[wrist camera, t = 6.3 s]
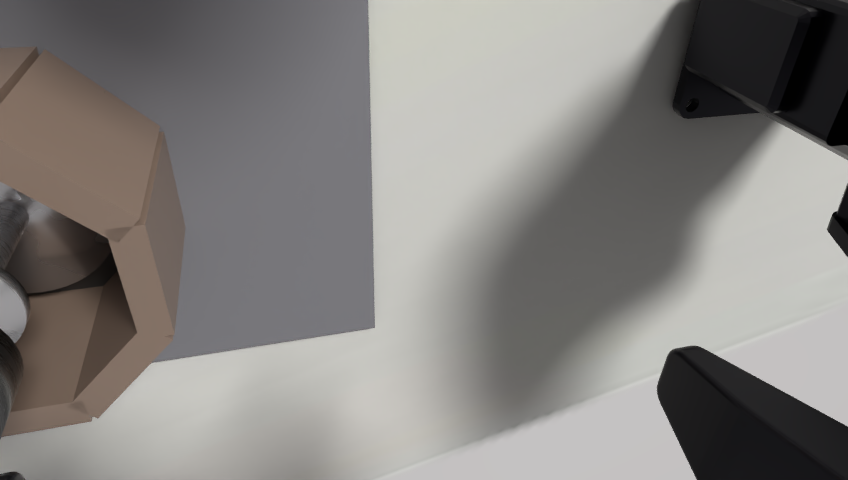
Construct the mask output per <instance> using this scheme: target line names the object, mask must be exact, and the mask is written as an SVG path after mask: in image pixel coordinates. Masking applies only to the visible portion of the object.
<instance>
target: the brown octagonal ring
mask: <svg viewBox="0 0 848 480" xmlns="http://www.w3.org/2000/svg"><path fill="white" fill-rule="evenodd" d="M159 129H160V126H159V125H158V124H156V123H155V122H153V121H152V120H150V119H149V118H147V117H146V116H144V115H143V114H141V113H140V112H138V111H137V110H135V109H134V108H132V107H131V106H129V105H128V104H126V103H125V102H123V101H122V100H120V99H119V98H117V97H116V96H114V95H113V94H111V93H110V92H108V91H107V90H105V89H104V88H102V87H101V86H99V85H98V84H96V83H95V82H93V81H92V80H90V79H89V78H87V77H86V76H84V75H83V74H81V73H80V72H78V71H77V70H75V69H74V68H72V67H71V66H69V65H68V64H66V63H65V62H63V61H62V60H61V59H59V58H58V57H56V56H55V55H53V54H52V53H50V52H49V51H47V50H46V49H44V51H43V52H42V53H41V54H40V56H39V53H38V50H37V47H13V48H0V182H2V183H4V184H6V185H8V186H9V187H11V188H13V189H15V190H17V191H19V192H21V193H23V194H25V195H26V196H28V197H30V198H32V199H34V200H36V201H38V202H40V203H42V204H44V205H45V206H47V207H49V208H51V209H53V210H55V211H57V212H59V213H61V214H62V215H64V216H66V217H68V218H70V219H72V220H74V221H76V222H78V223H80V224H81V225H83V226H85V227H87V228H89V229H91V230H93V231H95V232H97V233H98V234H100V235H102V236H104V237H106V238H108V241H109V244H110V247H111V252H110V254H109V255H108V257H107V258H106V259H105V261H104V262H103V263H102V264H101V265H100V266H99V267H98V268H97V269H96V270H95V271H94V272H92V273H91V274H90V275H88V276H87V277H85V278H83V279H81V280H80V281H78V282H76V283H73V284H71V285H68V286H66V287H62V288H59V289H55V290H51V291H45V292H37V293H27V294H28V297H29V300H30V306H31V309H30V316H29V319H28V322H27V324H26V327H25V329H24V331H23V333H22V335H21V337H20V338H19V339H18V341H17V342H16V343H15V344H16V346H17V348H18V349H19V351H20V354H21V356H22V359H23V365H24V372H23V378H22V381H21V384H20V387H19V390H18V392H17V395H16V398H15V400H14V403H13V406H12V409H11V411H10V414H9V417H8V419H7V422H6V425H5V428H4V430H3V433H2V436H1V437H4V436H10V435H15V434H21V433H27V432H33V431H39V430H44V429H50V428H56V427H62V426H67V425H73V424H79V423H85V422H90V421H92V417H96V418H99V417H100V416H101V414H102V413H103V412H104V411H105V410H106V409H107V408H108V407H109V406H110V405H111V404H112V403H113V402H114V401H115V400H116V399H117V398H118V397H119V396H120V395H121V394H122V393H123V392H124V391H125V390H126V388H127V387H128V386H129V385H130V384H131V383H132V382H133V381H134V380H135V379H136V378H137V377H138V376H139V375H140V374H141V373H142V372H143V371H144V370H145V369H146V368H147V367H148V366H149V365H150V363H151V362H152V361H153V360H154V359H155V358H156V357H157V356H158V355H159V354H160V353H161V352H162V351H163V350H164V349H165V348H166V347H167V346H168V345H169V344H170V343H171V342H172V341H173V335H175V325H176V315H177V306H178V296H179V286H180V276H181V267H182V257H183V247H184V237H185V222H184V218H183V213H182V209H181V205H180V200H179V196H178V191H177V187H176V182H175V178H174V174H173V169H172V165H171V160H170V156H169V151H168V147H167V142H166V138H165V134H164V132H159Z"/></svg>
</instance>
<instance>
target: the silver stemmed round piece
mask: <svg viewBox="0 0 848 480" xmlns="http://www.w3.org/2000/svg"><path fill="white" fill-rule="evenodd" d="M110 252H111V247H110V244H109V241H108V238H106V237H104V236H102V235H100V234H98V233H97V232H95V231H93V230H91V229H89V228H87V227H85V226H83V225H81V224H80V223H78V222H76V221H74V220H72V219H70V218H68V217H66V216H64V215H62V214H61V213H59V212H57V211H55V210H53V209H51V208H49V207H47V206H45V205H44V204H42V203H40V202H38V201H36V200H34V199H32V198H30V197H28V196H26V195H25V194H23V193H21V192H19V191H17V190H15V189H13V188H11V187H9V186H8V185H6V184H4V183H2V182H0V438H1V436H2V433H3V430H4V428H5V425H6V422H7V419H8V417H9V414H10V411H11V409H12V406H13V403H14V400H15V398H16V395H17V392H18V390H19V387H20V384H21V381H22V378H23V372H24V365H23V359H22V356H21V354H20V351H19V349H18V348H17V346H16V344H15V343H16V342H17V341H18V339H19V338H20V337H21V335H22V333H23V331H24V329H25V327H26V324H27V322H28V319H29V316H30V309H31V306H30V300H29V297H28V294H27V293H37V292H45V291H51V290H55V289H59V288H62V287H66V286H68V285H71V284H73V283H76V282H78V281H80V280H81V279H83V278H85V277H87V276H88V275H90V274H91V273H92V272H94V271H95V270H96V269H97V268H98V267H99V266H100V265H101V264H102V263H103V262H104V261H105V259H106V258H107V257H108V255H109V254H110Z"/></svg>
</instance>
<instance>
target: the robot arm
mask: <svg viewBox="0 0 848 480" xmlns="http://www.w3.org/2000/svg"><path fill="white" fill-rule="evenodd" d="M691 99H692V101H691V103H690V105H688V106H687V107H686V105H687V103H688V101H690V100H691ZM673 109H674V111H675V112H676V113H677V114H679V115H680V116H682V117H683V118H687V119H691V118H703V117H714V116H726V115H738V114H749V113H762V114H764V115H766V116H767V117H769V118H771V119H773V120H775V121H777V122H779V123H780V124H782V125H784V126H786V127H788V128H790V129H791V130H793V131H795V132H797V133H799V134H801V135H803V136H804V137H806V138H808V139H810V140H812V141H814V142H815V143H817V144H819V145H821V146H823V147H825V148H826V149H828V150H830V151H832V152H834V153H836V154H838V155H839V156H841V157H843V158H845V159H847V160H848V0H701V1H700V5H699V8H698V12H697V16H696V20H695V23H694V27H693V31H692V34H691V38H690V42H689V45H688V49H687V53H686V56H685V60H684V64H683V68H682V71H681V75H680V79H679V82H678V86H677V90H676V93H675V97H674V101H673ZM827 230H828V232H829V233H830V235H831V236H832V237H833V239H834V240H835V241H836V243H837V244H838V245H839V246H840V248H841V249H842V250H843V252H844V253H845V254H846V256H847V257H848V184H847V186H846V189H845V192H844V195H843V197H842V200H841V203H840V205H839V208H838V211H837V212H834V213H833V214H832V217H831V219H830V222H829V225H828V228H827ZM657 394H658V398H659V401H660V403H661V405H662V407H663V410H664V412H665V414H666V416H667V418H668V420H669V422H670V424H671V426H672V428H673V431H674V433H675V435H676V437H677V439H678V441H679V443H680V445H681V448H682V450H683V452H684V454H685V456H686V458H687V460H688V462H689V464H690V466H691V469H692V470H693V473H694V474H695V477H696V479H697V480H848V427H847V426H845V425H844V424H842V423H840V422H838V421H836V420H834V419H833V418H831V417H829V416H827V415H825V414H823V413H821V412H820V411H818V410H816V409H814V408H812V407H810V406H808V405H807V404H805V403H803V402H801V401H799V400H797V399H796V398H794V397H792V396H790V395H788V394H786V393H785V392H783V391H781V390H779V389H777V388H775V387H774V386H772V385H770V384H768V383H766V382H764V381H762V380H760V379H759V378H757V377H755V376H753V375H751V374H750V373H748V372H746V371H744V370H742V369H740V368H738V367H737V366H735V365H733V364H731V363H729V362H727V361H726V360H724V359H722V358H720V357H718V356H716V355H714V354H713V353H711V352H709V351H707V350H705V349H703V348H701V347H699V346H687V347H682V348H676V349H673V350H672V351H670V352H669V354H668V356H667V359H666V361H665V364H664V367H663V370H662V373H661V376H660V378H659V381H658V385H657ZM0 480H25V479H24V477H23V476H22V475H21V474H19V473H18V472H8V473H3V474H0Z"/></svg>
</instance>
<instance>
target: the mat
mask: <svg viewBox="0 0 848 480" xmlns="http://www.w3.org/2000/svg"><path fill="white" fill-rule="evenodd" d="M13 47H37V50H38V53H39V56H40V54H41V53H42V52H43V51H44V49H46V50H47V51H49V52H50V53H52V54H53V55H55V56H56V57H58V58H59V59H61V60H62V61H63V62H65V63H66V64H68V65H69V66H71V67H72V68H74V69H75V70H77V71H78V72H80V73H81V74H83V75H84V76H86V77H87V78H89V79H90V80H92V81H93V82H95V83H96V84H98V85H99V86H101V87H102V88H104V89H105V90H107V91H108V92H110V93H111V94H113V95H114V96H116V97H117V98H119V99H120V100H122V101H123V102H125V103H126V104H128V105H129V106H131V107H132V108H134V109H135V110H137V111H138V112H140V113H141V114H143V115H144V116H146V117H147V118H149V119H150V120H152V121H153V122H155V123H156V124H158V125H159V126H160V129H159V132H164V134H165V138H166V142H167V147H168V151H169V156H170V160H171V165H172V169H173V174H174V178H175V182H176V187H177V191H178V196H179V200H180V205H181V209H182V213H183V218H184V222H185V237H184V247H183V257H182V267H181V276H180V286H179V296H178V306H177V315H176V325H175V335H173V341H172V342H171V343H170V344H169V345H168V346H167V347H166V348H165V349H164V350H163V351H162V352H161V353H160V354H159V355H158V356H157V357H156V358H155V359H154V360H153V361H152V362H158V361H165V360H171V359H177V358H184V357H190V356H197V355H203V354H209V353H216V352H222V351H229V350H235V349H241V348H248V347H254V346H261V345H267V344H273V343H280V342H286V341H293V340H299V339H305V338H312V337H318V336H325V335H331V334H337V333H344V332H350V331H357V330H363V329H369V328H375V316H374V268H373V219H372V170H371V122H370V73H369V25H368V0H0V48H13ZM152 362H151V363H152Z"/></svg>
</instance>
